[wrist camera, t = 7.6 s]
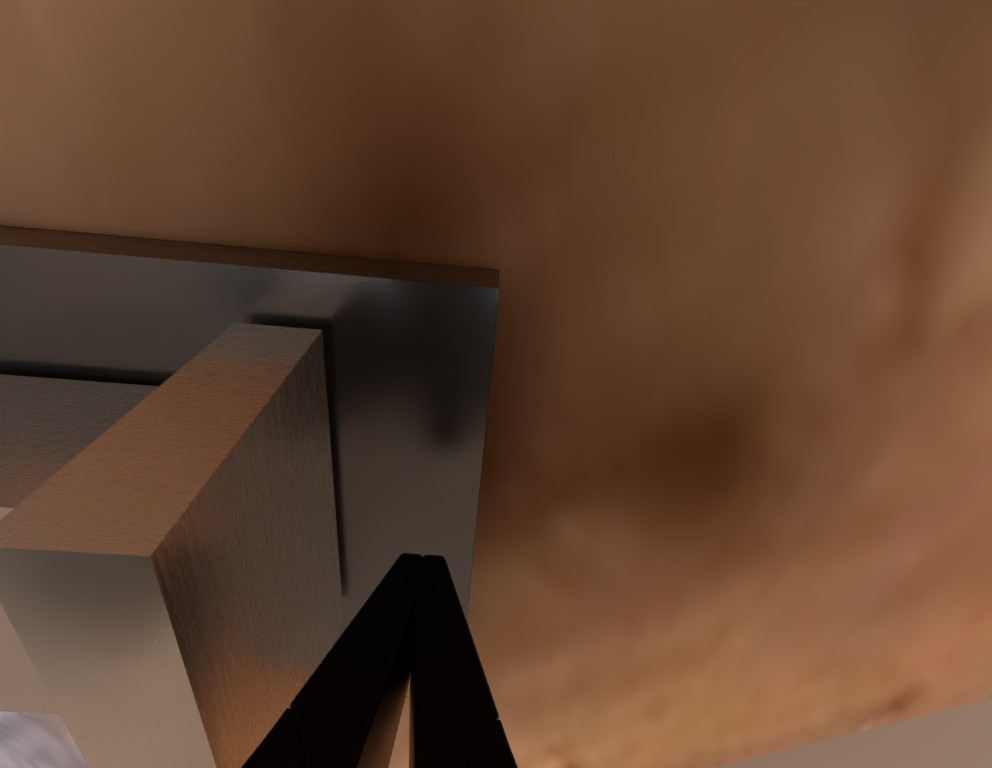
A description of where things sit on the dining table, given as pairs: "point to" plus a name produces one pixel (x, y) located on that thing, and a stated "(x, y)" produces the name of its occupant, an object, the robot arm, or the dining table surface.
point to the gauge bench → (347, 353)
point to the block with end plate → (170, 550)
